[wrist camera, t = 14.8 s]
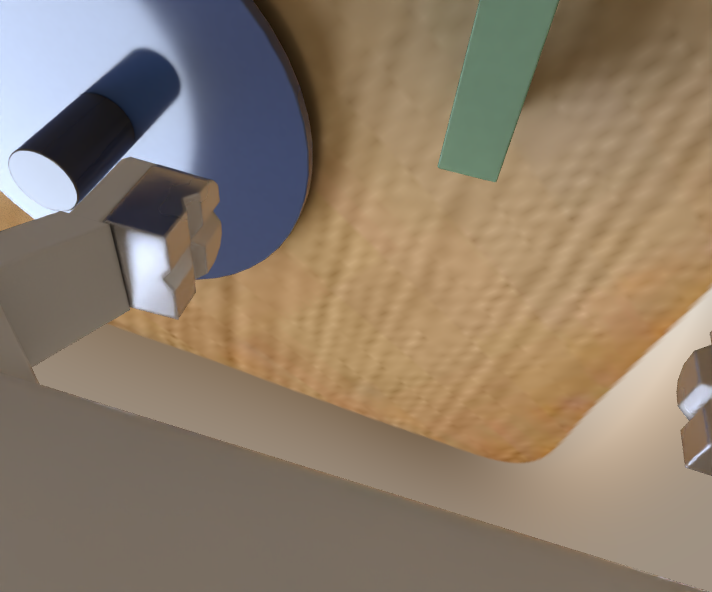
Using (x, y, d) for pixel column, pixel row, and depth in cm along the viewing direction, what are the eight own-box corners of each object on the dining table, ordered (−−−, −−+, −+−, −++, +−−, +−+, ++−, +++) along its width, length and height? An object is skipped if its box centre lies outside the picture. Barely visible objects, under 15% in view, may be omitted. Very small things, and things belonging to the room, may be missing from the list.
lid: (-172, -191, 19) (-340, -158, 16) (336, -82, 18) (274, -19, 14) (-1, 214, 32) (-73, 283, 28) (307, 300, 30) (270, 383, 27)
